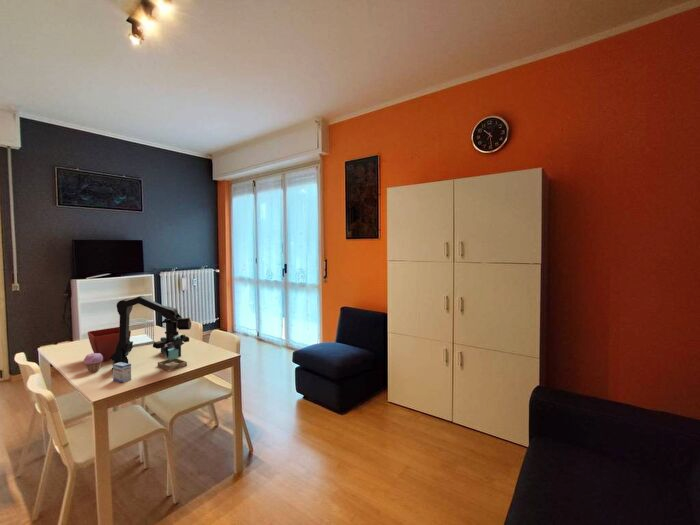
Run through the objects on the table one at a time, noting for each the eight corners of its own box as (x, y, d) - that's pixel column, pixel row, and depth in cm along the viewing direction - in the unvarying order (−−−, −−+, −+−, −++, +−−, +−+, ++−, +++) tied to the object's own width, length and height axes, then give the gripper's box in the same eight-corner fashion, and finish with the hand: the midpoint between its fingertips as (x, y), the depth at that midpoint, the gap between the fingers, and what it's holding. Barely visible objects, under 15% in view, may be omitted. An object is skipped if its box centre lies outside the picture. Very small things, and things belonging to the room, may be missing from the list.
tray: (169, 370, 188) (169, 366, 188) (157, 366, 196) (157, 362, 196) (186, 365, 197) (186, 361, 197) (174, 361, 204) (174, 357, 204)
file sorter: (120, 340, 250) (119, 320, 249) (146, 336, 262) (146, 316, 261) (127, 348, 232) (126, 325, 231) (155, 343, 244) (154, 322, 243)
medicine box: (112, 380, 174) (112, 364, 174) (121, 377, 179) (120, 361, 178) (123, 382, 172) (122, 366, 171) (131, 379, 176) (131, 363, 175)
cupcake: (83, 370, 188) (82, 353, 188) (102, 367, 194) (101, 350, 194) (85, 375, 182) (84, 356, 182) (104, 371, 188) (104, 353, 188)
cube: (169, 360, 193) (169, 351, 192) (165, 358, 195) (165, 349, 195) (178, 357, 197) (178, 349, 197) (173, 356, 200) (173, 347, 199)
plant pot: (94, 365, 198) (93, 336, 197) (87, 357, 211) (87, 331, 210) (132, 357, 212) (131, 331, 211) (123, 351, 225) (122, 326, 224)
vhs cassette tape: (181, 356, 215) (181, 340, 214) (177, 357, 212) (176, 341, 212) (164, 351, 224) (164, 336, 224) (160, 352, 221) (160, 337, 221)
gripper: (162, 335, 183) (162, 363, 184) (194, 328, 199) (194, 354, 199) (152, 332, 189) (152, 359, 190) (184, 326, 205) (184, 351, 206)
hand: (171, 356), depth 196 cm, fingers closed on cube, 5 cm apart
